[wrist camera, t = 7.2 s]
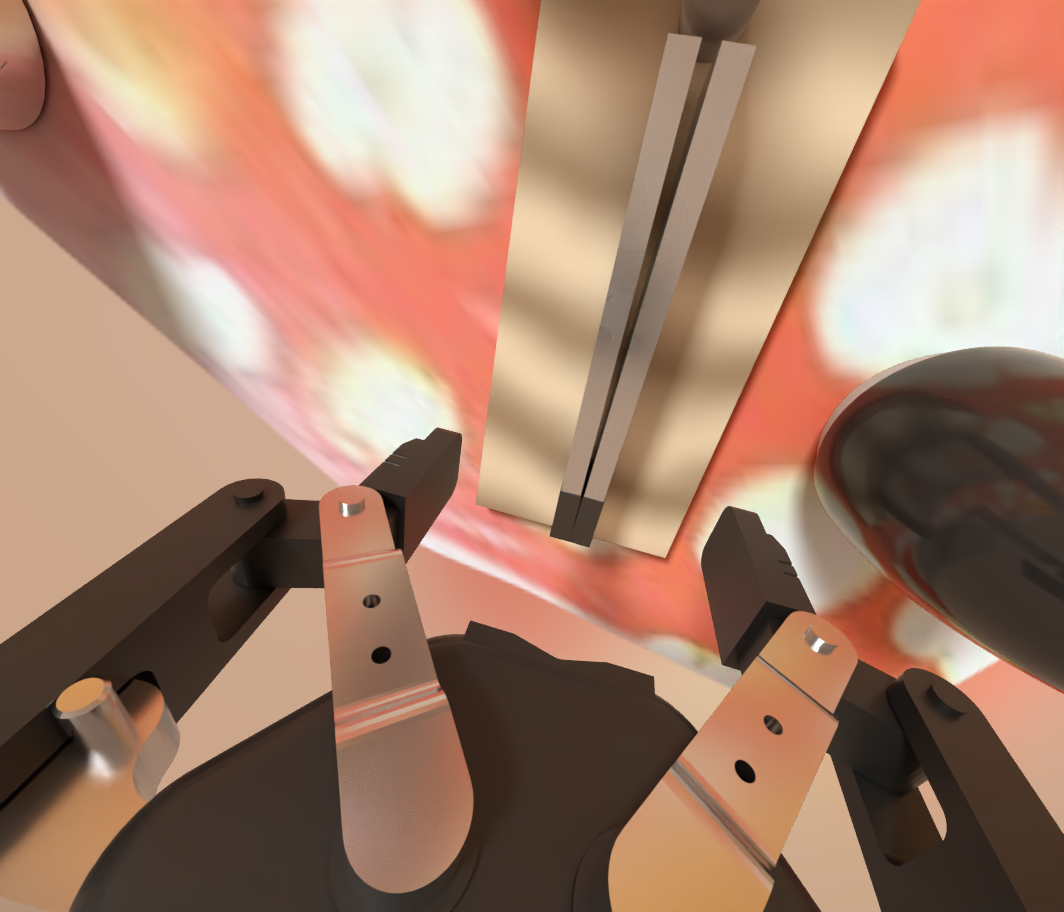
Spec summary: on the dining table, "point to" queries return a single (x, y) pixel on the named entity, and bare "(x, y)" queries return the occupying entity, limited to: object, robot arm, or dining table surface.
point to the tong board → (715, 250)
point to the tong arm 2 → (664, 270)
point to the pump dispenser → (960, 494)
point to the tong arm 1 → (627, 264)
